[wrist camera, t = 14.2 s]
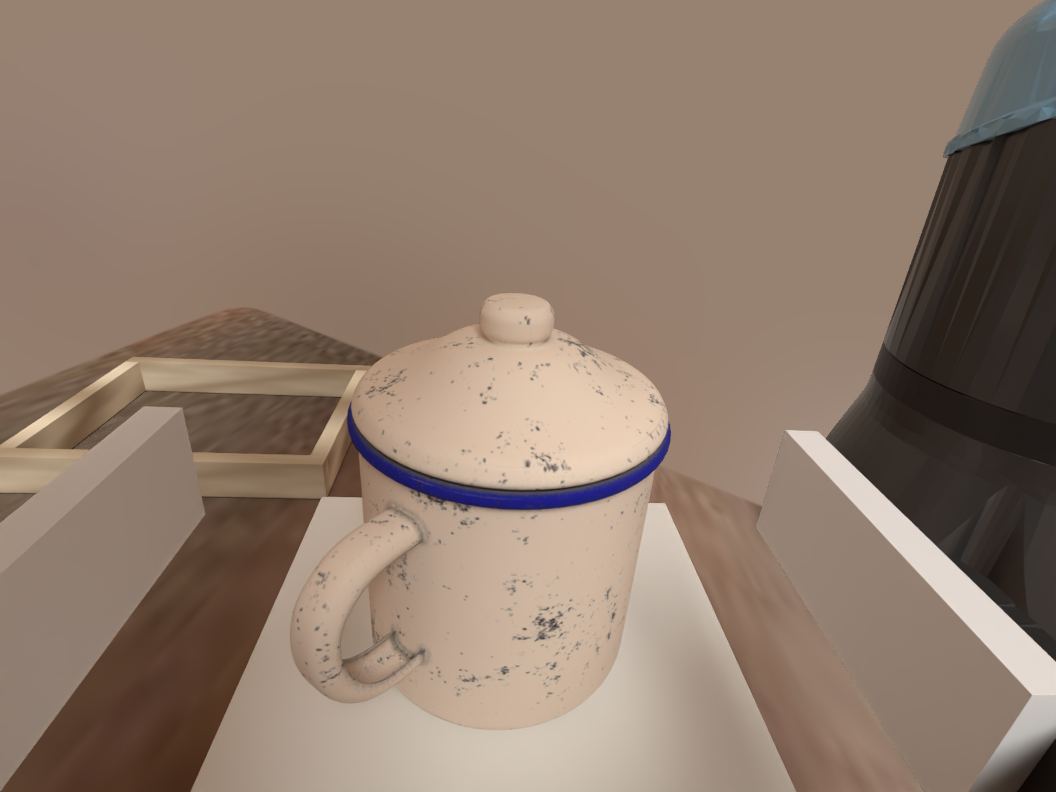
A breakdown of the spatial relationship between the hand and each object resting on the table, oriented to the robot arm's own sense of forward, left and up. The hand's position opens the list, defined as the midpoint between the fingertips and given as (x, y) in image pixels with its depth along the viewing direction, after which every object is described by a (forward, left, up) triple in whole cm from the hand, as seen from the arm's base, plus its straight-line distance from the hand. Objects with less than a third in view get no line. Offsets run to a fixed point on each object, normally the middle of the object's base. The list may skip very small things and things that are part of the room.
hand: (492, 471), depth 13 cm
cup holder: (+19, +15, -10) cm, 27 cm away
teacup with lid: (+3, 0, -9) cm, 9 cm away
